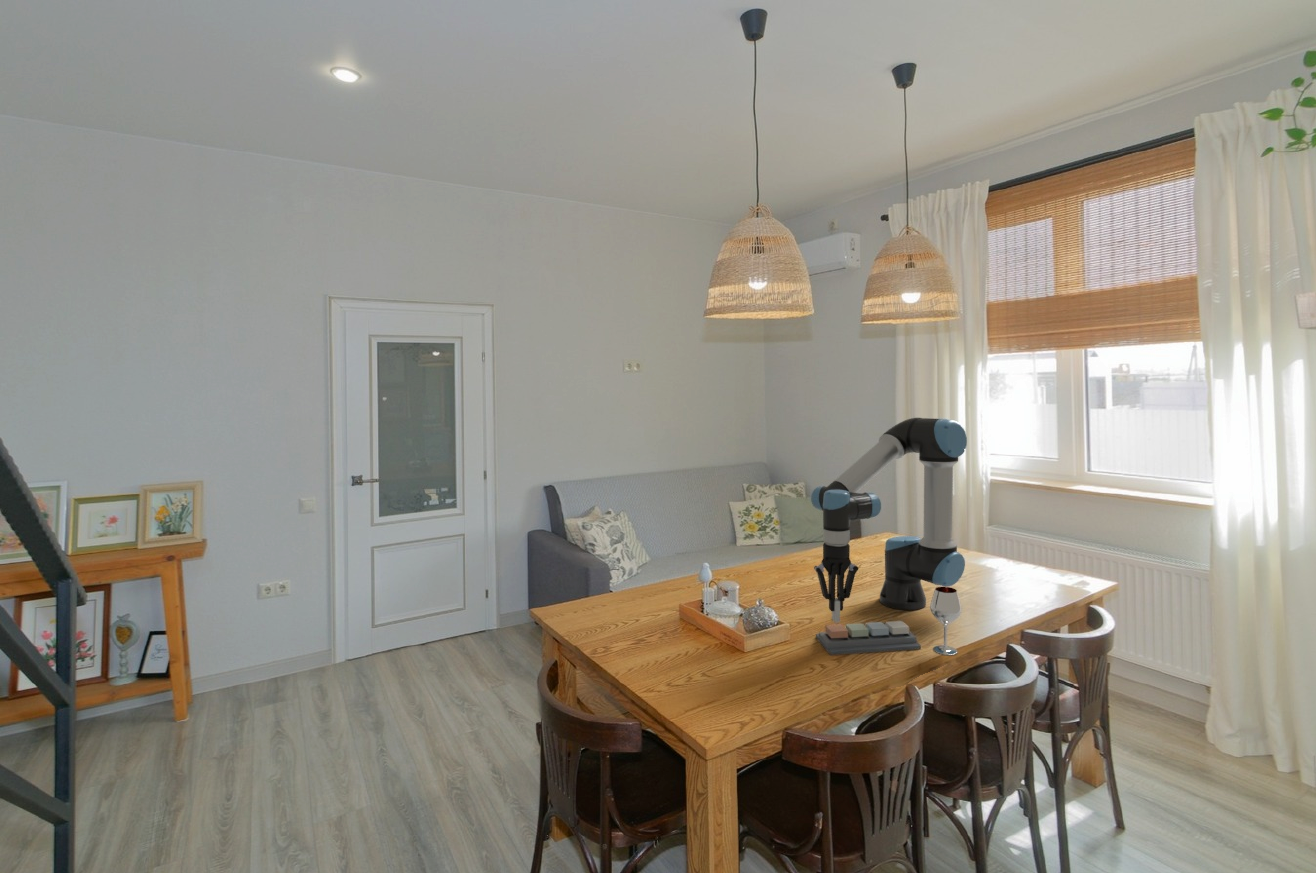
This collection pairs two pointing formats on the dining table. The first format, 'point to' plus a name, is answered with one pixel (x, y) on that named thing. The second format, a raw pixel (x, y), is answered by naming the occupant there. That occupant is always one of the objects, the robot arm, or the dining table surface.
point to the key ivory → (897, 627)
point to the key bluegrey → (877, 628)
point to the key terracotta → (836, 631)
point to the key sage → (857, 630)
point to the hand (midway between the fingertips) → (835, 621)
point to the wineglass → (945, 613)
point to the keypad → (868, 643)
